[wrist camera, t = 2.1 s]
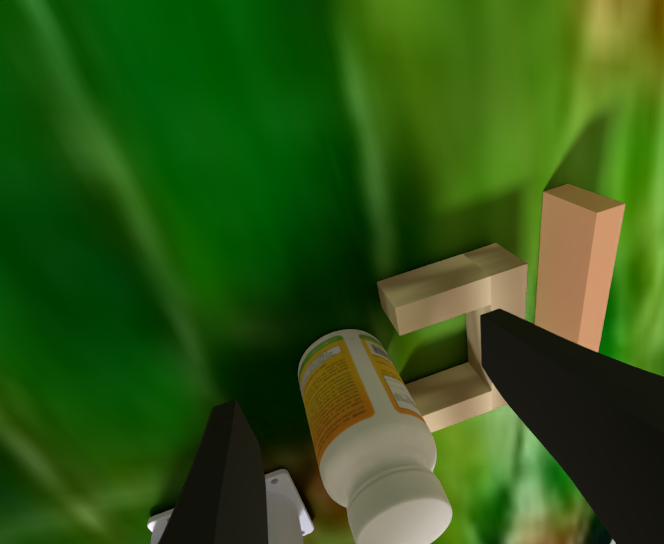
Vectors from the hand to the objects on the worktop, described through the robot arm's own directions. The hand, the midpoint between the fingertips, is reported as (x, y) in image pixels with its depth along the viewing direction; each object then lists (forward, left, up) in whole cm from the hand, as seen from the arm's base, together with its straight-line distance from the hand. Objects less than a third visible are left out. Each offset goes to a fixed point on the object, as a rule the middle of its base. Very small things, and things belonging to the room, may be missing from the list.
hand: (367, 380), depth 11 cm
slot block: (+6, -8, -9) cm, 14 cm away
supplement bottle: (0, -8, -10) cm, 12 cm away
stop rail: (+14, -8, -9) cm, 18 cm away
